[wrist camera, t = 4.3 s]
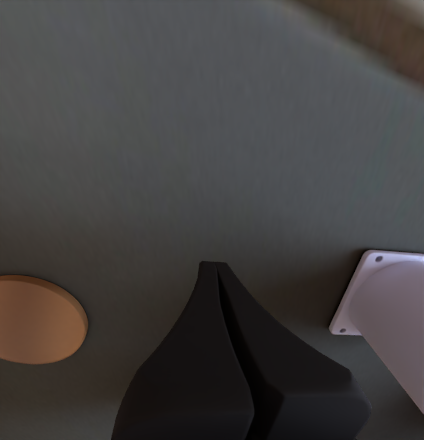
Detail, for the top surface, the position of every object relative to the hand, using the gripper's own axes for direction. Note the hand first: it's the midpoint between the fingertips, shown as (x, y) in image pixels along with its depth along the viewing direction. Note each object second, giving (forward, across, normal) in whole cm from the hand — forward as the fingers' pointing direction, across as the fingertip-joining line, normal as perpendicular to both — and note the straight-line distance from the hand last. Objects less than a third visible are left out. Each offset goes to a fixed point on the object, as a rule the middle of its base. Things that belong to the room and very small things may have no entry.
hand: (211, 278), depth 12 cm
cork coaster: (+4, +12, +8) cm, 15 cm away
